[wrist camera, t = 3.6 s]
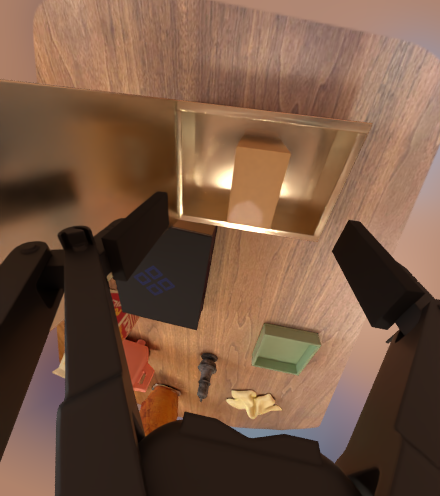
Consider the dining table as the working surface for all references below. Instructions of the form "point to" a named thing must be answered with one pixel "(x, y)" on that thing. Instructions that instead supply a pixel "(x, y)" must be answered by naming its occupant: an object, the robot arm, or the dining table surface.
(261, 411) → the cloth
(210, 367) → the dark chess piece
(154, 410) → the vase
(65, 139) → the lid
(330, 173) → the gold metal box
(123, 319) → the milk carton
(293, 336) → the tray
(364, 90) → the dining table surface
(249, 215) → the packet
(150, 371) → the teapot
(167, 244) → the book
